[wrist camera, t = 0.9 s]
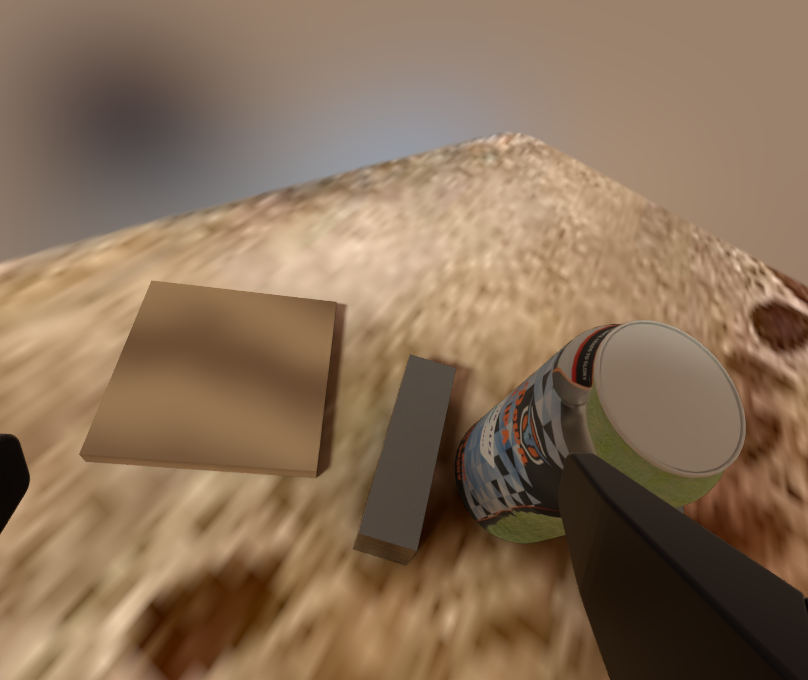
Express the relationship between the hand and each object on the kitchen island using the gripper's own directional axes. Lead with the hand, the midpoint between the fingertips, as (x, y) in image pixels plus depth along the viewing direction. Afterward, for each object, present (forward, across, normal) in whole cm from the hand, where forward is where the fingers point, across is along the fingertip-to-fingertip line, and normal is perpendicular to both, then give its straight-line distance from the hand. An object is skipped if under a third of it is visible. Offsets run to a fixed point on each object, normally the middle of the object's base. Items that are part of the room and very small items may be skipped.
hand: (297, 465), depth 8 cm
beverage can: (+13, -8, +11) cm, 19 cm away
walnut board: (+16, +7, +7) cm, 19 cm away
